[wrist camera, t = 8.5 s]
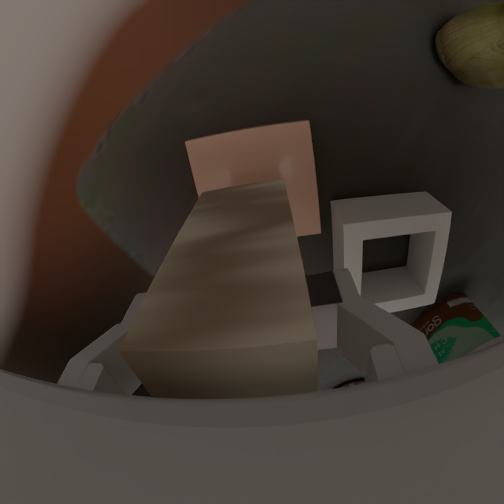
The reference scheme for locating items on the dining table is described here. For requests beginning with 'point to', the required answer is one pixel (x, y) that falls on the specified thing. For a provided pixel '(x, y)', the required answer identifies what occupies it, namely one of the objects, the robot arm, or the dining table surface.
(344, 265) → the pocket collar
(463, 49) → the fennel bulb
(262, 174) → the terracotta tile
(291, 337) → the ash peg
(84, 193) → the dining table surface
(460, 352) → the food container
